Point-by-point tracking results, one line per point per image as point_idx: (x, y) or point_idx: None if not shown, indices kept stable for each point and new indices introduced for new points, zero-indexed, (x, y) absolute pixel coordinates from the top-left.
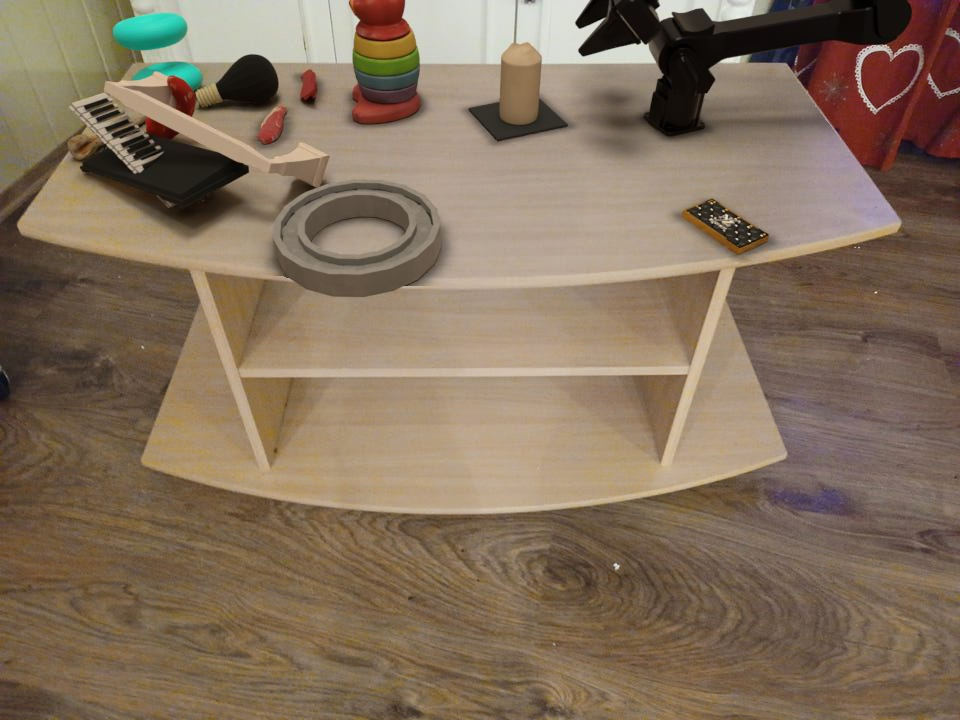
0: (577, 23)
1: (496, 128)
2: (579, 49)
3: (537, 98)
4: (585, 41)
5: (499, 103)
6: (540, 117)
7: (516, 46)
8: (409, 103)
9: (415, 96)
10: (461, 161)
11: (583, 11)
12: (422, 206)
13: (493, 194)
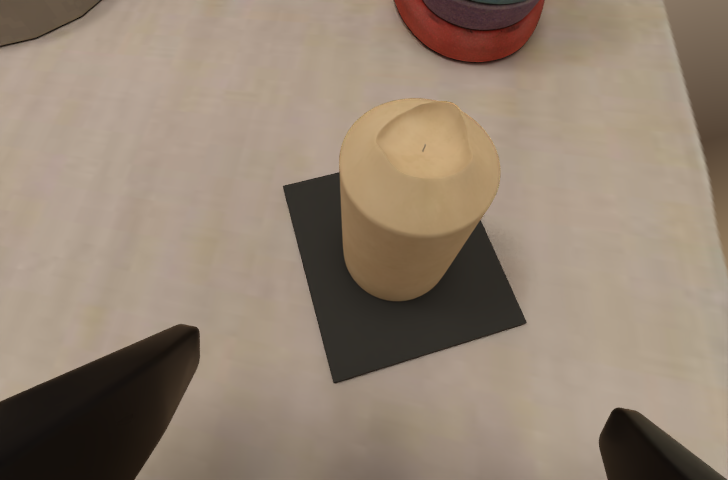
0: (617, 423)
1: (335, 191)
2: (172, 327)
3: (367, 272)
4: (139, 353)
5: None
6: (384, 309)
7: (456, 130)
8: (431, 22)
9: (460, 32)
10: (213, 110)
11: (690, 472)
12: (29, 17)
13: (62, 149)
